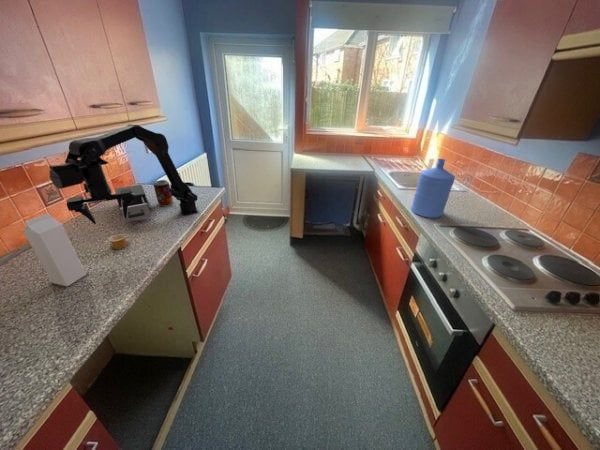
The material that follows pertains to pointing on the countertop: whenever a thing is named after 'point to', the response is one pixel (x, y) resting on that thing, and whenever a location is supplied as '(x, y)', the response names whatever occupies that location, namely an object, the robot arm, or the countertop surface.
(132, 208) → the drawer
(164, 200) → the red food can
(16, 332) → the countertop surface
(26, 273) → the countertop surface
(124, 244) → the coffee pod
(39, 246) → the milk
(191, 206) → the robot arm
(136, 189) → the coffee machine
